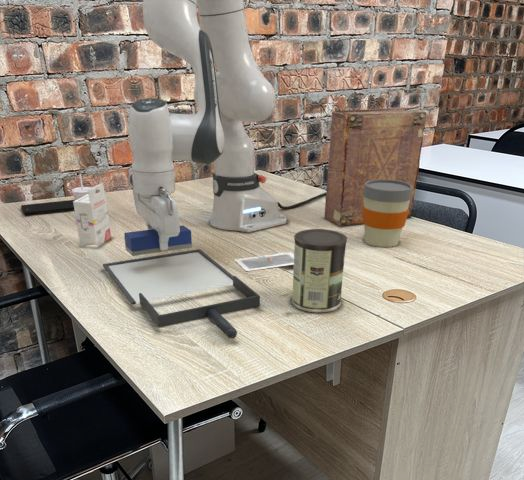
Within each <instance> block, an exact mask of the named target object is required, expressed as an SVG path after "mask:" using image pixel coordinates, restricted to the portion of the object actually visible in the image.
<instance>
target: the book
mask: <svg viewBox="0 0 524 480" xmlns="http://www.w3.org/2000/svg"><path fill="white" fill-rule="evenodd" d="M427 114H428V113H427V112H426V111H411V110H408V108H407V107H393V108H389V107H388V108H367V109H344V110H343V109H341V110H332V111H331V124H330V137H329V150H328V161H327V175H326V176H327V177H326V189H325V193H326V196H325V203H324V204H325V205H324V216H323V217H324V218H325V219H326V220H328V221H330V222H332V223H334V224H336V225H337V226H339V227H347V226H348V227H349V226H355V225H364V223H363V210H362V206H363V204H364V196H363V190H364V186H365V183H366V182H368V181H371V180H395V181H401V182H405V183H408V184H410V185H412V199H411V200H410V202H409V206H408V207H409V212H408V215H407V219H411V217H412V216H413V215H412V214H413V207H414V200H415V194H416V189H417V181H418V175H419V168H420V162H421V153H422V147H423V142H424V141H423V140H424V134H425V126H426V120H427Z"/></svg>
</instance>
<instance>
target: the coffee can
mask: <svg viewBox="0 0 524 480" xmlns="http://www.w3.org/2000/svg"><path fill="white" fill-rule="evenodd" d="M293 240H294V248H293V250H294V251H293V252H294V253H293V254H294V265H293V269H292V270H293V271H292V273H293V274H292V291H291V293H292V295H291V304H292V305H293V306H294V307H295V308H297V309H299V310H301V311H304V312H307V313H329V312H333V311H335V310H337V309H338V308H340V307H341V304H342V301H341V300H342V288H343V277H344V267H345V256H346V248H347V242H348V237H347V236H346V235H345V234H344V233H342V232H339V231H336V230H332V229H325V228H311V229H309V228H308V229H304V230H301V231H298V232H296V233H295V234H294V236H293Z"/></svg>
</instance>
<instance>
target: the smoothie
mask: <svg viewBox="0 0 524 480" xmlns="http://www.w3.org/2000/svg"><path fill="white" fill-rule="evenodd" d="M78 175H79V182H80V187H79V186H78V187H74V188H72V189H71V194H72V195H73V197H74V198H73V199H74V200H77V199H79V198H81V197H83V196H85V195H87V194H88V190H89V189H91V188H93V187H94V186H93V187H92V186H84V183H83V177H82V173H78ZM94 194H97V190H96V191H95V192H94Z"/></svg>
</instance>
